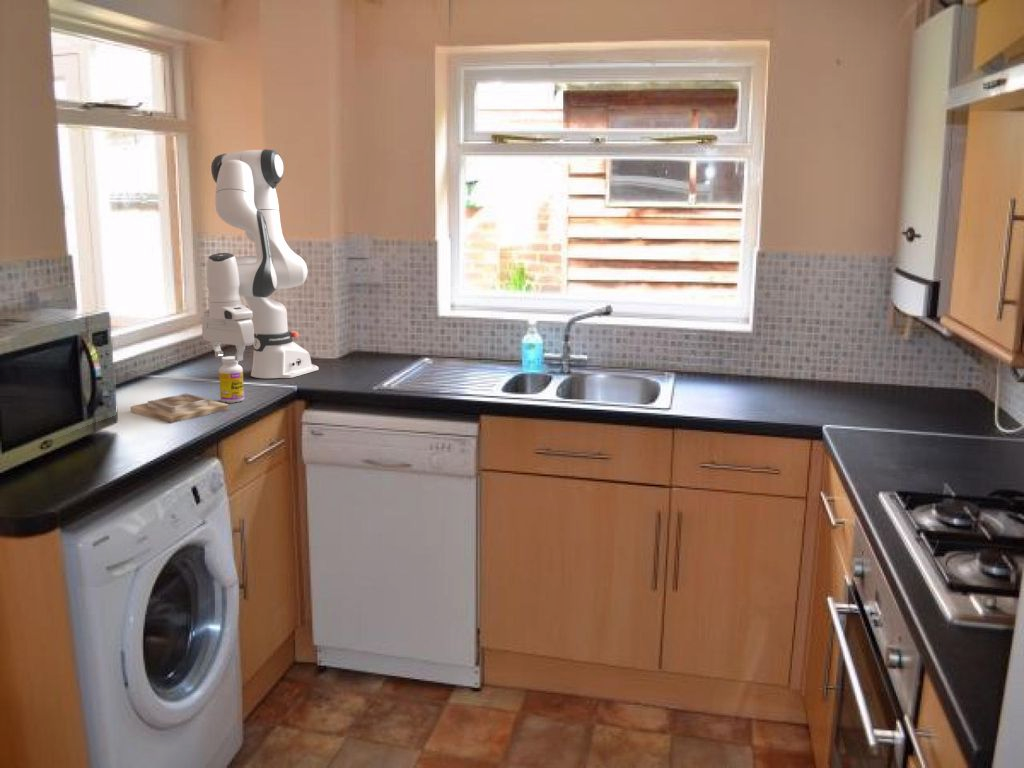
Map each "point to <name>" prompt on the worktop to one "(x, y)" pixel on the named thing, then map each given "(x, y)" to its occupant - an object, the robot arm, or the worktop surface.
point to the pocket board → (179, 407)
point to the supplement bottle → (231, 380)
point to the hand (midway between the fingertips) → (229, 359)
